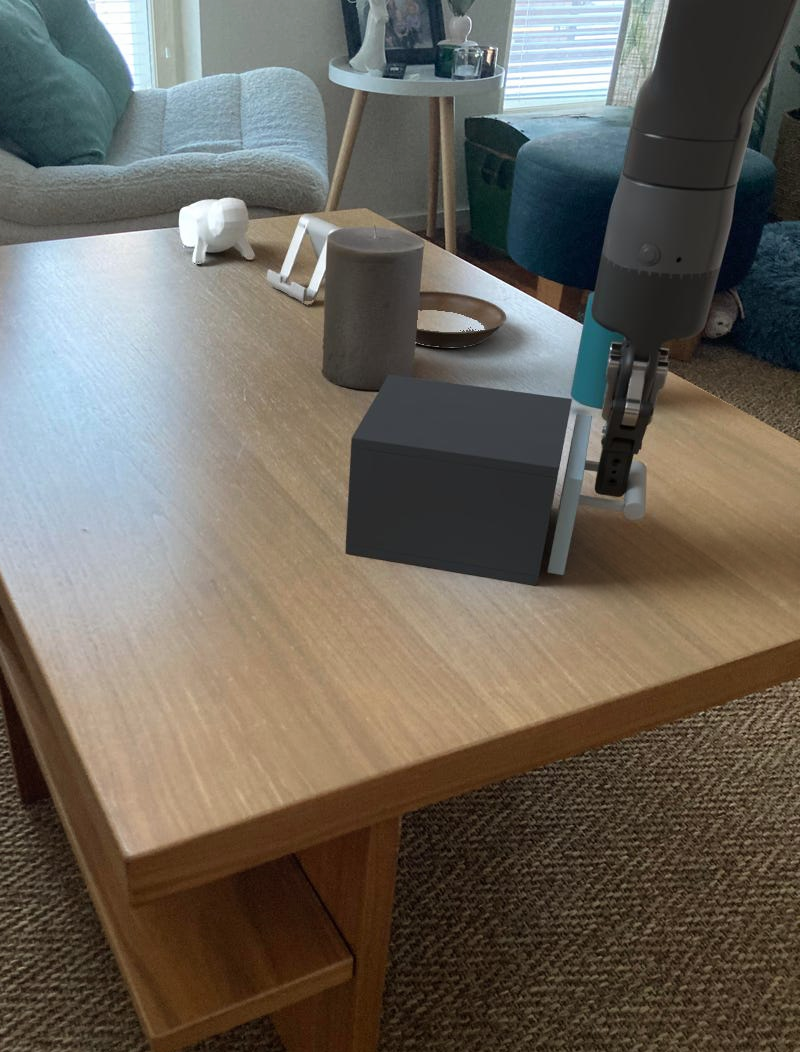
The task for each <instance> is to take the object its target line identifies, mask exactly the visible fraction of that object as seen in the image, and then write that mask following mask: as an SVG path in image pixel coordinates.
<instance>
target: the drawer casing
mask: <svg viewBox="0 0 800 1052" xmlns="http://www.w3.org/2000/svg"><path fill="white" fill-rule="evenodd" d="M572 403H573V398H569V397H560V396H553V395H546V394H538V393H532V392H524V391H516V390H508V389H501V388H493V387H486V386H479V385H471V384H465V383H464V384H463V383H455V382H448V381H442V380H441V381H440V380H432V379H425V378H419V377H412V378H411V377H404V376H396V375H388V377H387V379H386V380H385V382H384V384H383V386H382V387H381V389H380V390H378V392H377V394H376V395H375V397H374V399H373V401H372V402H371V404H370V405H369V407H368V409H367V410H366V412H365V414H364V415H363V418H362V419H361V421H360V422H359V424H358V426H357V427H356V429H355V430H354V433H353V434H352V436H351V439H350V440H351V441H350V457H349V475H348V476H349V477H348V493H347V510H346V511H347V512H346V513H347V514H346V528H345V529H346V531H345V549H344V550H345V551H344V552H345V554H348V555H354V556H359V557H365V558H371V559H376V560H377V559H378V560H383V561H387V562H388V561H389V562H395V563H400V564H407V565H413V566H417V567H425V568H430V569H436V570H443V571H449V572H454V573H459V574H466V575H471V576H479V577H483V578H489V579H495V580H501V581H507V582H513V583H518V584H519V583H520V584H524V585H530V586H531V585H532V586H538V583H539V579H540V578H539V577H540V573H541V569H542V568H541V567H542V564H543V563H542V562H543V556H544V553H545V552H544V551H545V546H546V541H547V536H548V531H549V525H550V520H551V515H552V509H553V504H554V498H555V493H556V487H557V482H558V477H559V471H560V466H561V460H562V456H563V450H564V445H565V439H566V434H567V428H568V423H569V419H570V414H571V413H570V412H571V407H572Z"/></svg>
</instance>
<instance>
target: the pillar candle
mask: <svg viewBox="0 0 800 1052" xmlns="http://www.w3.org/2000/svg"><path fill="white" fill-rule="evenodd" d="M425 245H426V244H425V240H424V239H423V238H422V237H421V236H419V235H417V234H414V233H412V232H409V231H405V230H401V229H397V228H394V227H382V226H376V224H375V223H373V224H372V226H349V227H344V228H343V229H338V230H336V231H333V232H332V233H330V234H329V235H328V238H327V249H326V272H325V281H324V295H323V296H324V303H323V305H324V306H323V307H324V309H323V310H324V311H323V312H324V313H323V338H322V343H323V344H322V369H321V374H322V375H323V377H324V378H325V379H326V380H327V381H328V382H330V383H332V384H333V385H337V386H341V387H345V388H349V389H355V390H362V391H363V390H365V391H380V389H381V387H382V386H383V384H384V382H385V380H386V379H387V377H388V375H396V376H404V377H412V378H413V372H414V364H415V363H414V361H415V354H416V344H415V342H416V332H417V320H418V310H419V296H420V291H421V282H422V271H423V260H424V251H425Z"/></svg>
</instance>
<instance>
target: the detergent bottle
mask: <svg viewBox="0 0 800 1052" xmlns="http://www.w3.org/2000/svg"><path fill="white" fill-rule="evenodd" d="M594 292H595V290H594V291H593V292H592V291H591V292H590V293H589V294H588V298H587V302H586V308H585V312H584V319H583V323H582V329H581V335H580V340H579V346H578V351H577V357H576V360H575V361H576V362H575V367H574V371H573V372H574V373H573V377H572V383H571V387H570V388H571V389H570V397H571V399H572V400H574V401H576V402H578V403H580V404H582V405H585V406H588V407H592V408H596V409H597V408H598V409H603V401H604V394H605V389H606V385H607V381H606V372H607V366H608V357H609V352H610V347H611V342H618V343H621V342H623V341H624V335H622V334H620V333H618V332H611V331H609V330H607V329H605V328H603V327H601V326H600V325H599V324H597V323H596V322H595V320H594V319H593V317H592V314H591V308H592V302H593V297H594Z"/></svg>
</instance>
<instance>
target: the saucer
mask: <svg viewBox="0 0 800 1052" xmlns="http://www.w3.org/2000/svg"><path fill="white" fill-rule="evenodd" d="M419 310H420V311H422V310H437V311H445V312H453V313H457V314H461V315H464V316H466V317H469V318H472V319H474V320H477V321H478V322H479V323H481V325H483V326H484V329H485V330H480V331H479V330H478V331H474V330H473V329H472V331H471V330H470V329H469V328H468V329H469V331H468V330H466V332H465V331H464V330H463V331H462V332H439V331H430V330H424V329H418V328H417V332H416V342H417V343H420V344H424V345H430V346H439V347H459V348H465V347H464V346H467V347H471V346H470V345H472V346H475V345H478V344H480V343H482V342H484V341H486V340H487V339H488V338H490V337H491V336H492V335H494V334H495V333H496V332H497V331H498V330H500V328H501V327H502V326H503V325H504V323H505V322H506V320H507V314H506V312H505V311H504V309H502V308H501V307H499V306H498V305H496V304H495V303H493V302H491V301H488V300H485V299H482V298H479V297H476V296H472V295H468V294H463V293H457V292H450V291H435V290H434V291H433V290H422V291H421V290H420V296H419ZM470 328H471V327H470ZM475 330H476V329H475ZM460 331H461V330H460ZM477 343H478V344H477ZM474 344H475V345H474ZM436 348H437V349H439V348H438V347H436Z"/></svg>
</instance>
